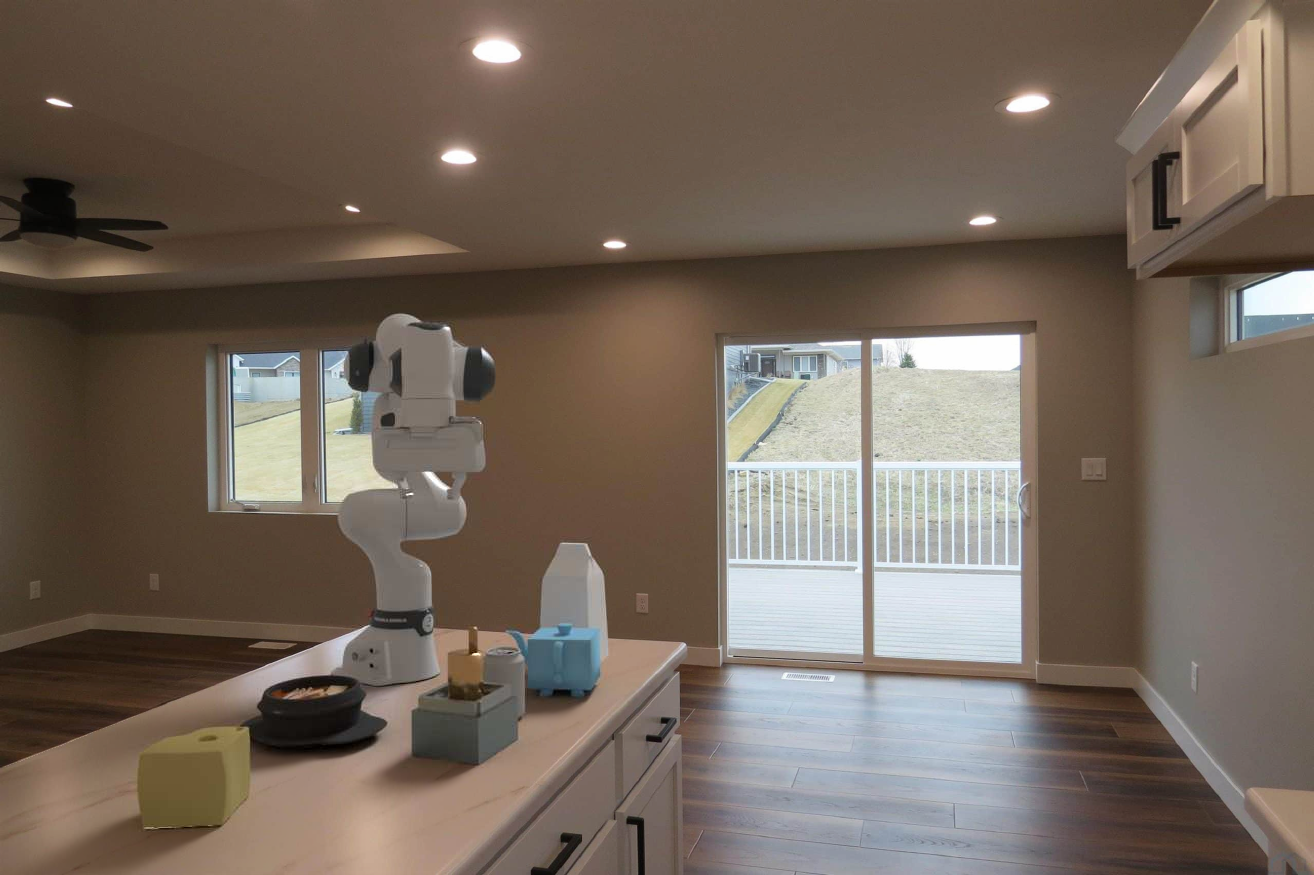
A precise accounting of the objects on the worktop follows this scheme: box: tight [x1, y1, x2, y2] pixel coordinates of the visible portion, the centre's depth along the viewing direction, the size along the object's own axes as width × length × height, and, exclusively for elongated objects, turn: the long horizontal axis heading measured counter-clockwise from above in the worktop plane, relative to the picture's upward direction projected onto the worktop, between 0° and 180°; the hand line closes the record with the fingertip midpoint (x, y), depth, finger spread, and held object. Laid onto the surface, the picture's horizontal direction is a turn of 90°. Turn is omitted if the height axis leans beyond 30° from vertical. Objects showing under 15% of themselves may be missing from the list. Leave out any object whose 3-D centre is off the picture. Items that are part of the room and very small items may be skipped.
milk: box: [539, 542, 610, 663], centre depth 193 cm, size 12×12×26 cm
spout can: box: [447, 626, 484, 701], centre depth 140 cm, size 6×6×12 cm
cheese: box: [136, 726, 251, 829], centre depth 116 cm, size 10×11×10 cm
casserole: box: [238, 674, 388, 749], centre depth 146 cm, size 25×19×8 cm
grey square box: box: [410, 682, 519, 766], centre depth 140 cm, size 12×12×9 cm
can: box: [483, 646, 526, 720], centre depth 155 cm, size 8×8×12 cm
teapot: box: [505, 623, 601, 698], centre depth 172 cm, size 18×16×13 cm
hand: (429, 499), depth 148 cm, fingers open, 8 cm apart
